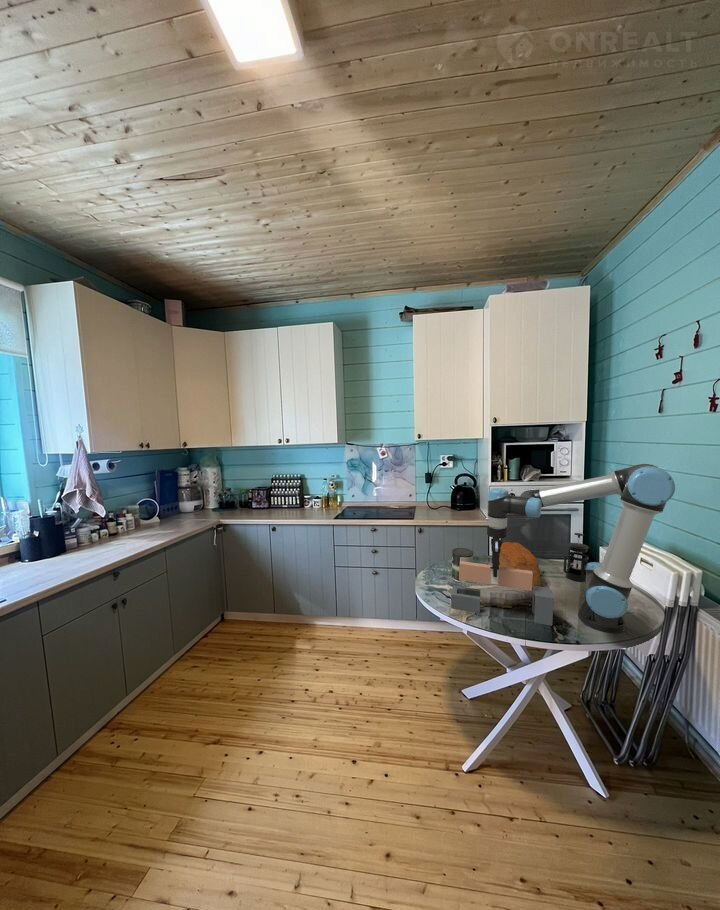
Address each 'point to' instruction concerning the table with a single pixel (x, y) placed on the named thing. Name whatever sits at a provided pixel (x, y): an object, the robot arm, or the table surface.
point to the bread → (519, 560)
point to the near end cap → (542, 605)
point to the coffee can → (458, 556)
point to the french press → (575, 569)
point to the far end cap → (465, 599)
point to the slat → (506, 577)
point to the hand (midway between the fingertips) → (494, 581)
